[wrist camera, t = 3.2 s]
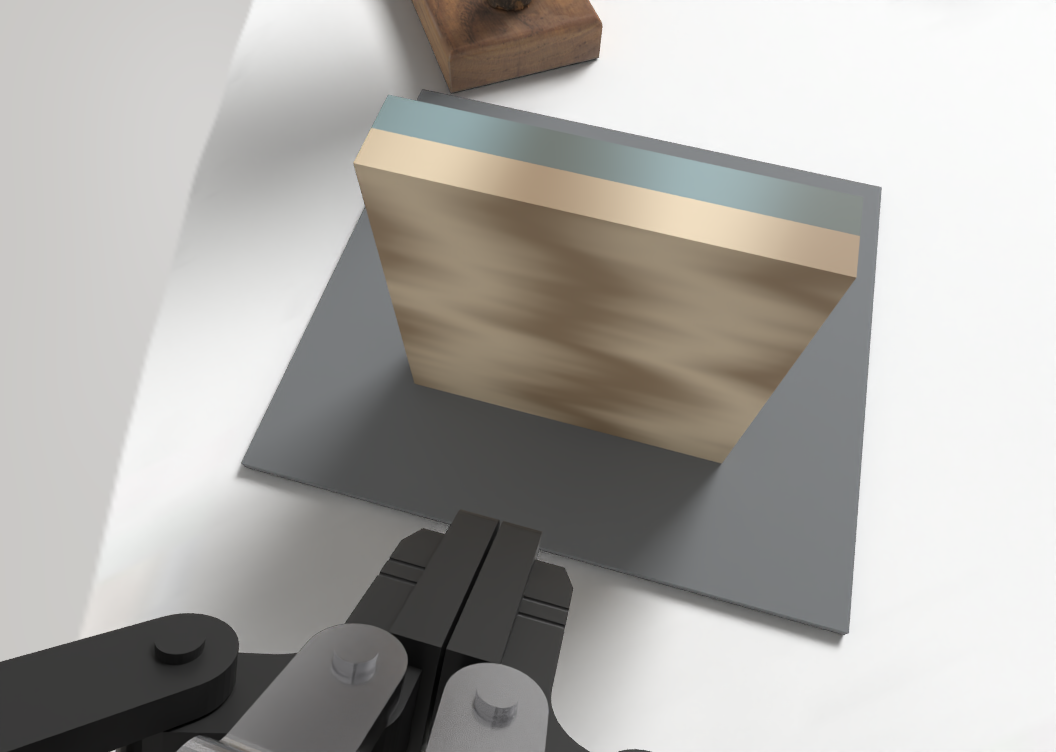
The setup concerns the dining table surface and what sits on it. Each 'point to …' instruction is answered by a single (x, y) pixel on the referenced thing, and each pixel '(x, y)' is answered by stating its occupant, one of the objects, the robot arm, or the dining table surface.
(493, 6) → the bird figurine
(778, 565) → the mat
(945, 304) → the dining table surface
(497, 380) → the board
